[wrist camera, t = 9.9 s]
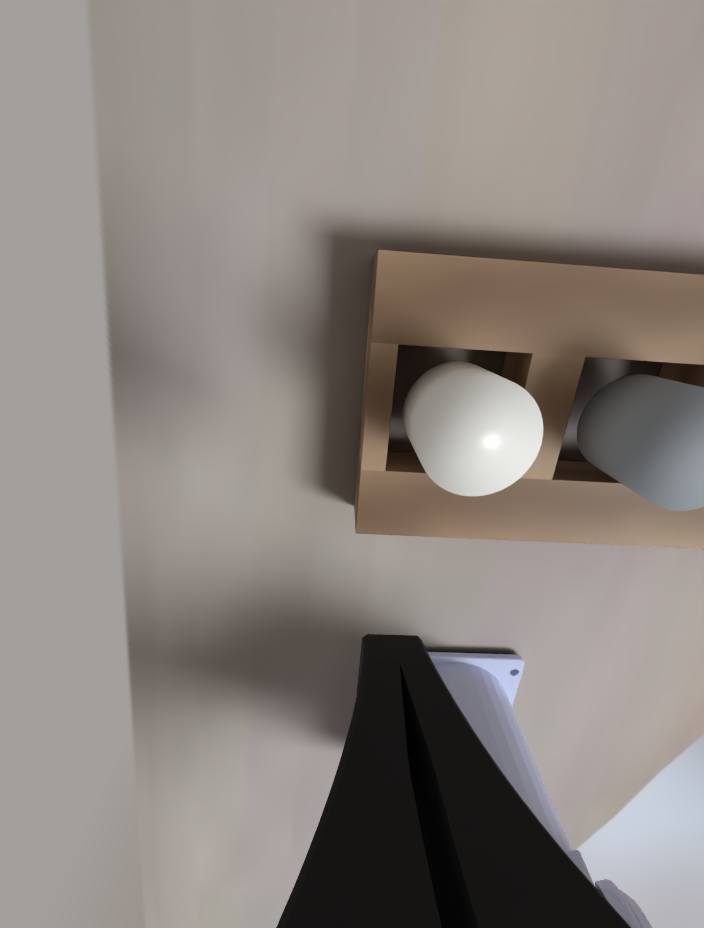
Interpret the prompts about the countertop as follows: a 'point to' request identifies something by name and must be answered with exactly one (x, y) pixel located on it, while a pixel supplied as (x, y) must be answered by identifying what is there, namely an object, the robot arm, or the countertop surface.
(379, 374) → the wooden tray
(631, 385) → the grey rounded piece
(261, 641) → the countertop surface
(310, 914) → the robot arm
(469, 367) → the white rounded cylinder
